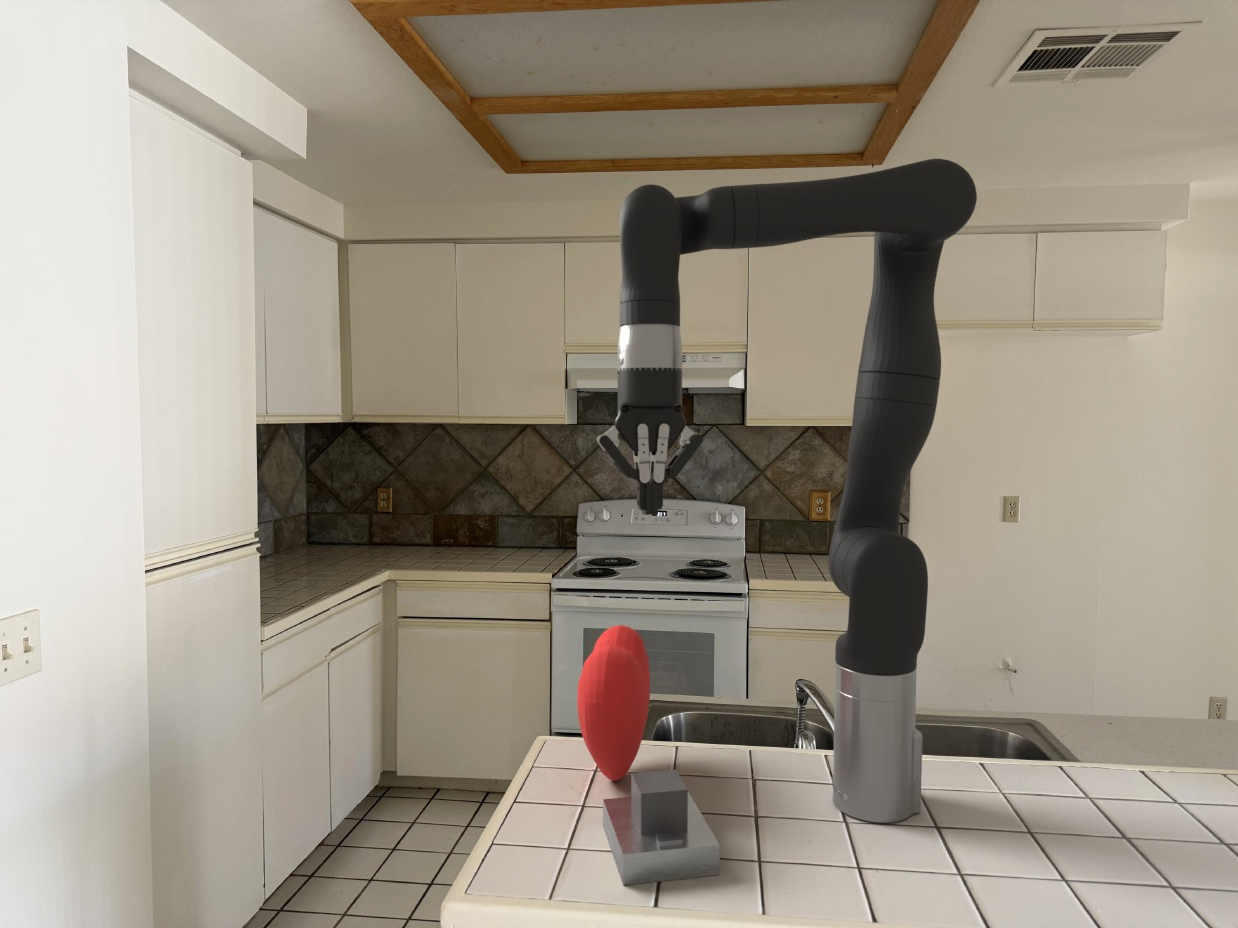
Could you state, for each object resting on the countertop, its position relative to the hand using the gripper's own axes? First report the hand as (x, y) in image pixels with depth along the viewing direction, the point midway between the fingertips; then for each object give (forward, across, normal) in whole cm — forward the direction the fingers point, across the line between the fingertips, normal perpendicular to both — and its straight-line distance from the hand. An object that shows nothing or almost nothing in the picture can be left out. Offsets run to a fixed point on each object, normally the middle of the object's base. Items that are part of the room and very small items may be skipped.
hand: (649, 513), depth 100 cm
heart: (+35, +3, -6) cm, 36 cm away
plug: (+35, +2, +11) cm, 37 cm away
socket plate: (+35, +2, +11) cm, 37 cm away
